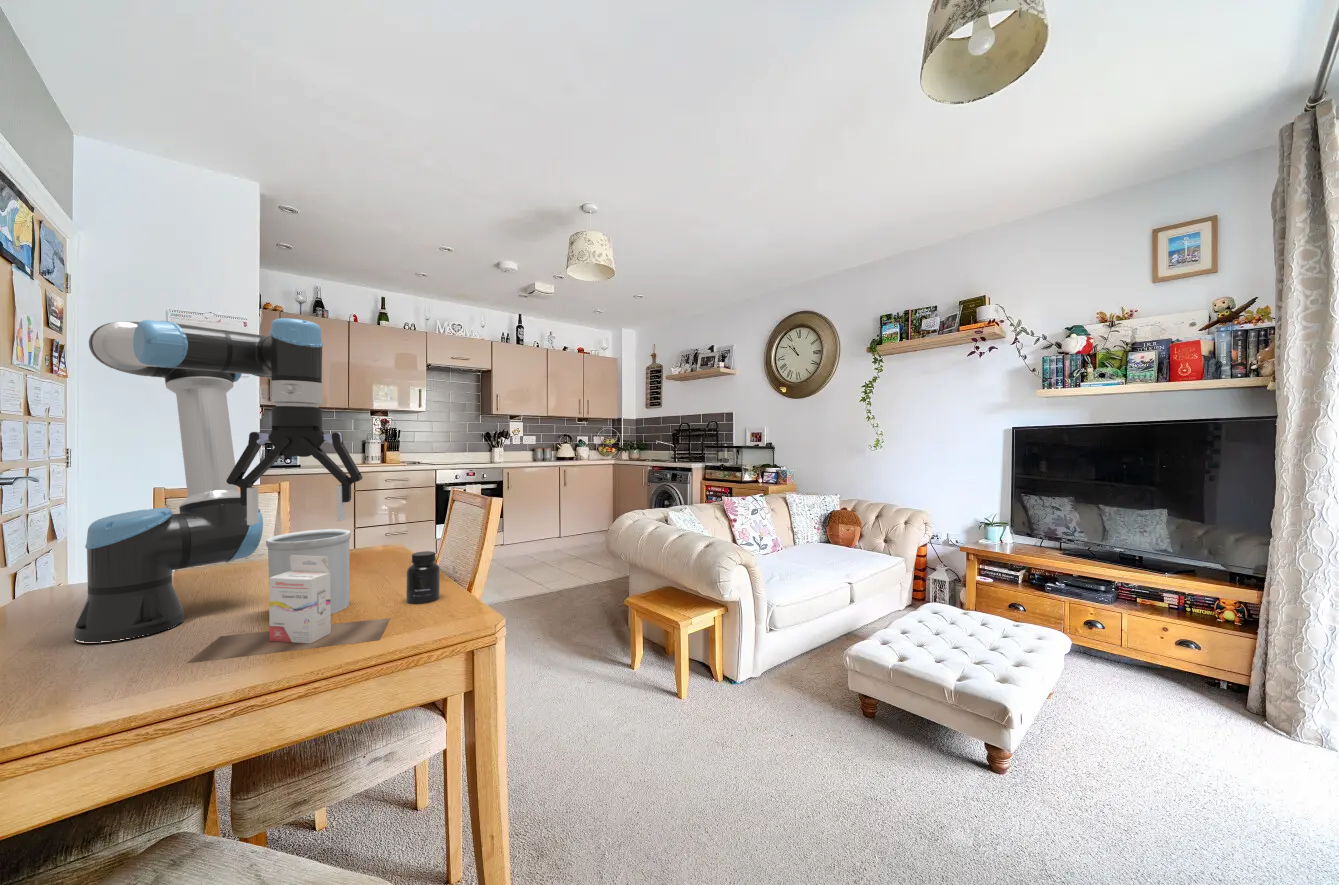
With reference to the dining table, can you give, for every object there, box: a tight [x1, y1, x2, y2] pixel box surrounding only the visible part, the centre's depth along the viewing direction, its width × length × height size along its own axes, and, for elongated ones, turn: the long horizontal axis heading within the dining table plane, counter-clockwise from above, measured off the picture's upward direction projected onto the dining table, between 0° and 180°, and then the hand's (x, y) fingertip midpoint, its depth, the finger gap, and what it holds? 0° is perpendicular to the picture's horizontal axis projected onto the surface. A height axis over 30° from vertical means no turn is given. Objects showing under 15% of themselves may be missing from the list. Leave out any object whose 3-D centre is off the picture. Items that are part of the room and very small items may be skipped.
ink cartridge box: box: [268, 555, 332, 643], centre depth 95 cm, size 9×5×15 cm, turn 84°
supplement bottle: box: [406, 550, 441, 605], centre depth 117 cm, size 7×7×12 cm
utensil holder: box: [265, 528, 351, 615], centre depth 110 cm, size 15×15×18 cm
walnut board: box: [186, 617, 391, 664], centre depth 95 cm, size 28×12×2 cm, turn 110°
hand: (297, 522), depth 94 cm, fingers open, 13 cm apart
